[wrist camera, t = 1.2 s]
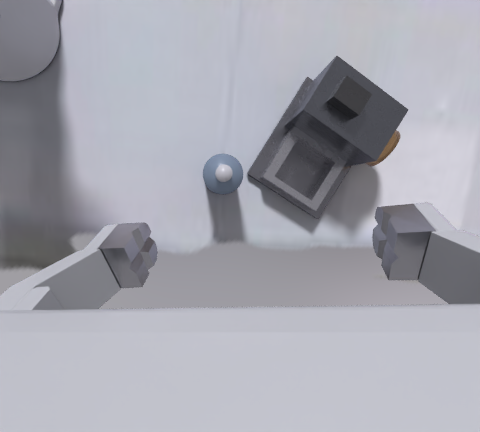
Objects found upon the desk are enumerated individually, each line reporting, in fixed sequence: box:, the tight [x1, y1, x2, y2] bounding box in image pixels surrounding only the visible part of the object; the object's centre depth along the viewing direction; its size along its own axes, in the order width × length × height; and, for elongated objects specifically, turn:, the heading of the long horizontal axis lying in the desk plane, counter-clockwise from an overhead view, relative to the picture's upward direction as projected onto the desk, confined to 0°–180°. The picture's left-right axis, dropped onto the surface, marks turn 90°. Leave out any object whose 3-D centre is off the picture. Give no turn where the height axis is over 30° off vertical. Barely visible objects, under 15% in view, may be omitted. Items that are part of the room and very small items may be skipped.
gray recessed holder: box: [247, 56, 408, 219], centre depth 40 cm, size 15×18×12 cm
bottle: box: [203, 154, 243, 194], centre depth 39 cm, size 5×5×12 cm
